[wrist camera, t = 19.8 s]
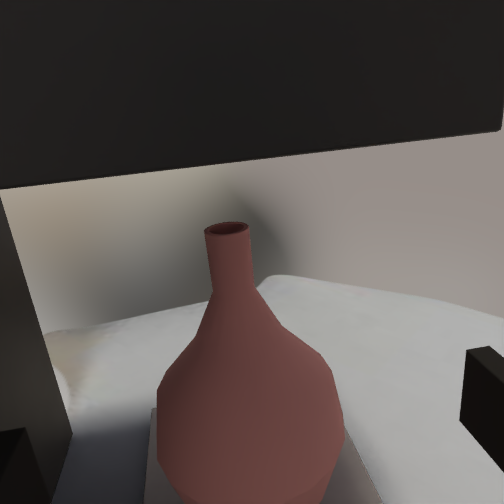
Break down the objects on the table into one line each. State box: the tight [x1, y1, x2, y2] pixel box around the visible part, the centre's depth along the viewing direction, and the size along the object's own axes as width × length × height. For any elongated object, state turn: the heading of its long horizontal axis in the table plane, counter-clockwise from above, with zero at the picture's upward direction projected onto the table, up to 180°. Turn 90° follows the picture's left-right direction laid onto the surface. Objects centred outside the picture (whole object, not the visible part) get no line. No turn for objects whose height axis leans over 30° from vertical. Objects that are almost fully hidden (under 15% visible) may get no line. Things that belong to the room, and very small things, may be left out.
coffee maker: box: [0, 0, 504, 504], centre depth 15 cm, size 17×13×21 cm
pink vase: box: [156, 222, 345, 504], centre depth 17 cm, size 8×8×12 cm
